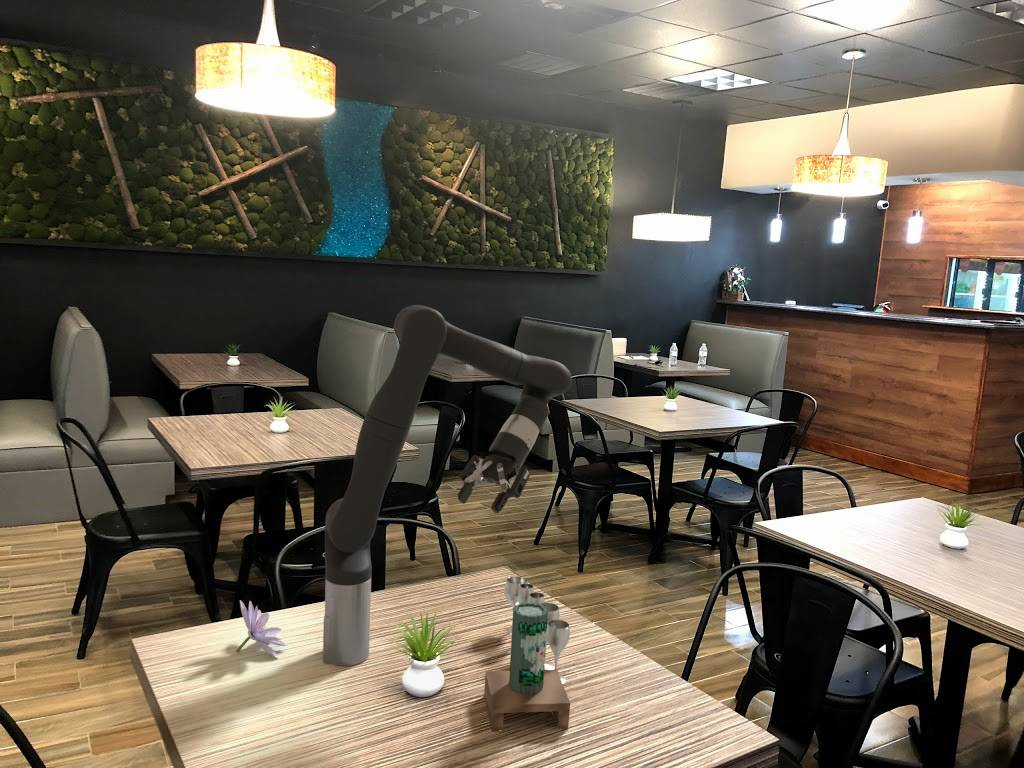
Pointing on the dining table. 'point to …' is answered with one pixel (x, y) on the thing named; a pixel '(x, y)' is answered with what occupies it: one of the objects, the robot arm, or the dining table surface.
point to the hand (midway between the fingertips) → (477, 506)
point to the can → (528, 648)
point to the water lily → (259, 629)
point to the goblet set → (556, 629)
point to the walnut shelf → (525, 698)
